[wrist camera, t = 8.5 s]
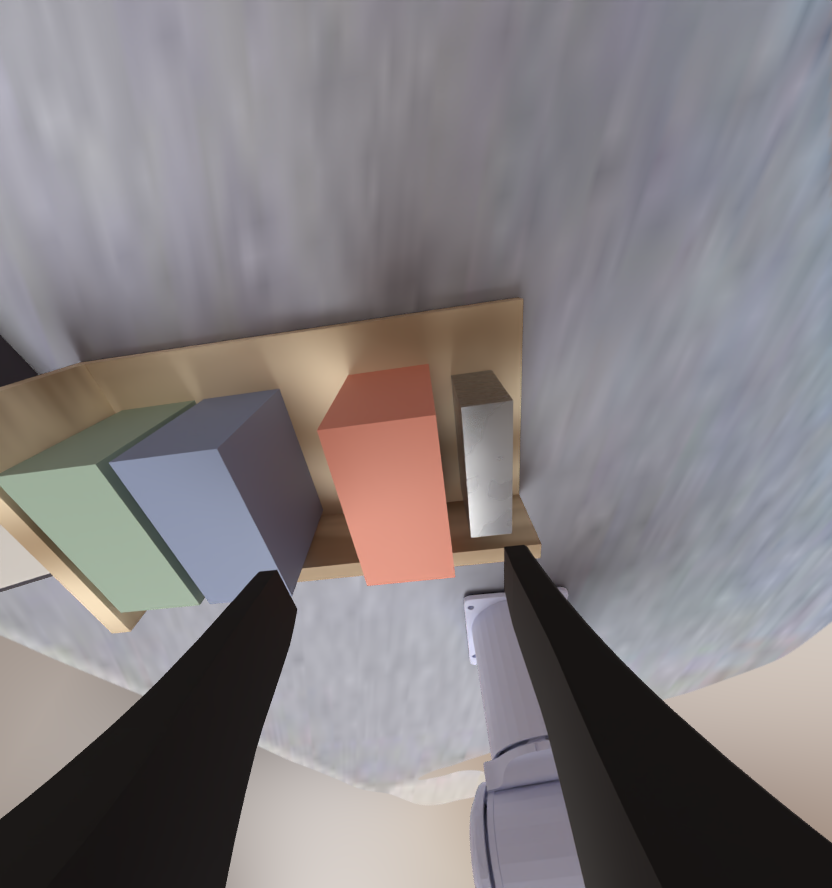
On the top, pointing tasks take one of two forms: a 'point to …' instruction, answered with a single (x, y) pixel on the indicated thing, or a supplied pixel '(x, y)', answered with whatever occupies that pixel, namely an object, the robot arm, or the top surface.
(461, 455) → the bookend
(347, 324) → the shelf
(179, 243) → the top surface
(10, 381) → the calculator
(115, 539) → the book
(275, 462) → the book
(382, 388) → the orange rectangular block
